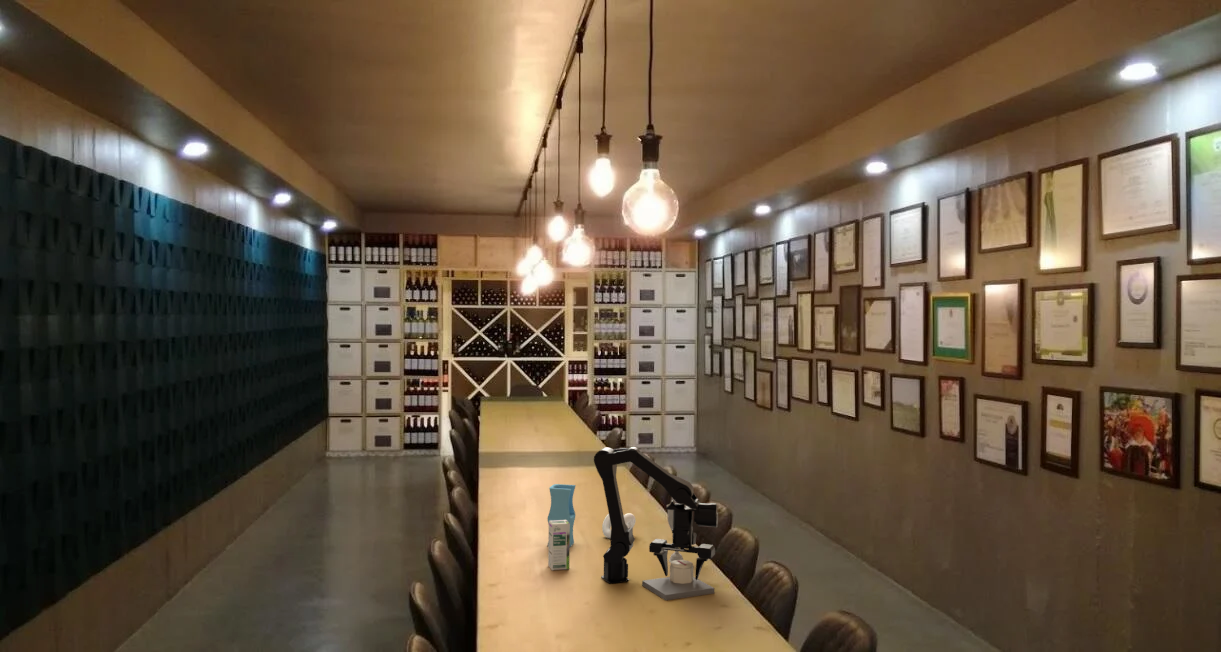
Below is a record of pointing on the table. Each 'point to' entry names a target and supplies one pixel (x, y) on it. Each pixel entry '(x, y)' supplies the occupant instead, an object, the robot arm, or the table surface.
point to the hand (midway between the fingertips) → (681, 577)
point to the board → (677, 588)
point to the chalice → (676, 554)
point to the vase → (562, 505)
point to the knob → (681, 571)
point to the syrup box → (558, 544)
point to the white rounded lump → (606, 525)
